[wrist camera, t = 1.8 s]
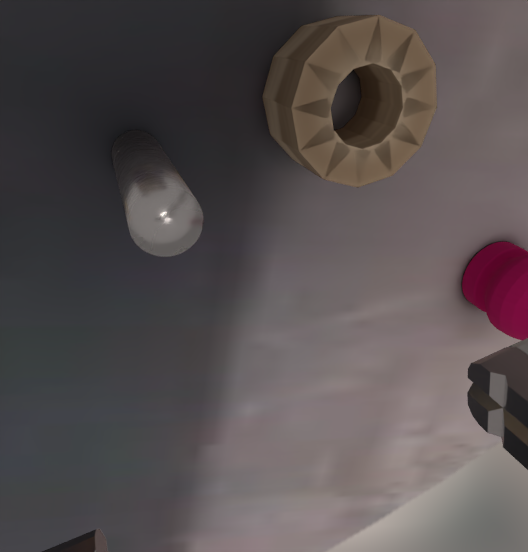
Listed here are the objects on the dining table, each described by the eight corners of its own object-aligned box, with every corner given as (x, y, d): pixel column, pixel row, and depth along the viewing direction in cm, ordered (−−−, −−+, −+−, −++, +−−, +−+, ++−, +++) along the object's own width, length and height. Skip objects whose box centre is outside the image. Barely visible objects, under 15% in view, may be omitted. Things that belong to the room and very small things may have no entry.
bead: (384, 3, 31) (433, -1, 26) (395, 143, 35) (438, 159, 31) (250, 39, 29) (279, 42, 25) (279, 181, 34) (308, 204, 30)
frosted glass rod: (152, 123, 29) (191, 176, 19) (168, 171, 31) (211, 242, 21) (103, 138, 29) (116, 200, 19) (121, 185, 30) (143, 266, 20)
